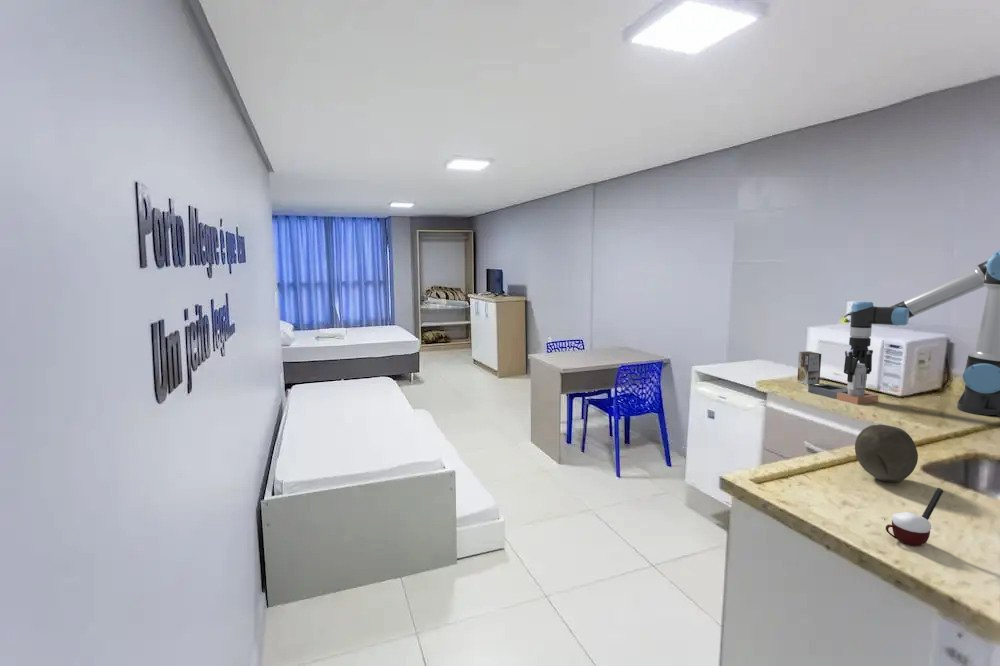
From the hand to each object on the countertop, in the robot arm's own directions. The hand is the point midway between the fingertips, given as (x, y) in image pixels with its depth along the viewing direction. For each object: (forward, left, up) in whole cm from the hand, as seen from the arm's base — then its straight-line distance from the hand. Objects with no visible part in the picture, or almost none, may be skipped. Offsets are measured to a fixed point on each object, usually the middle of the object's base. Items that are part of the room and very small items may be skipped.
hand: (856, 388), depth 217 cm
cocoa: (+101, +89, -6) cm, 135 cm away
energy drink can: (0, 0, -4) cm, 4 cm away
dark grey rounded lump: (+74, +64, -6) cm, 98 cm away
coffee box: (-10, -33, -6) cm, 35 cm away
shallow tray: (0, -7, -5) cm, 8 cm away
